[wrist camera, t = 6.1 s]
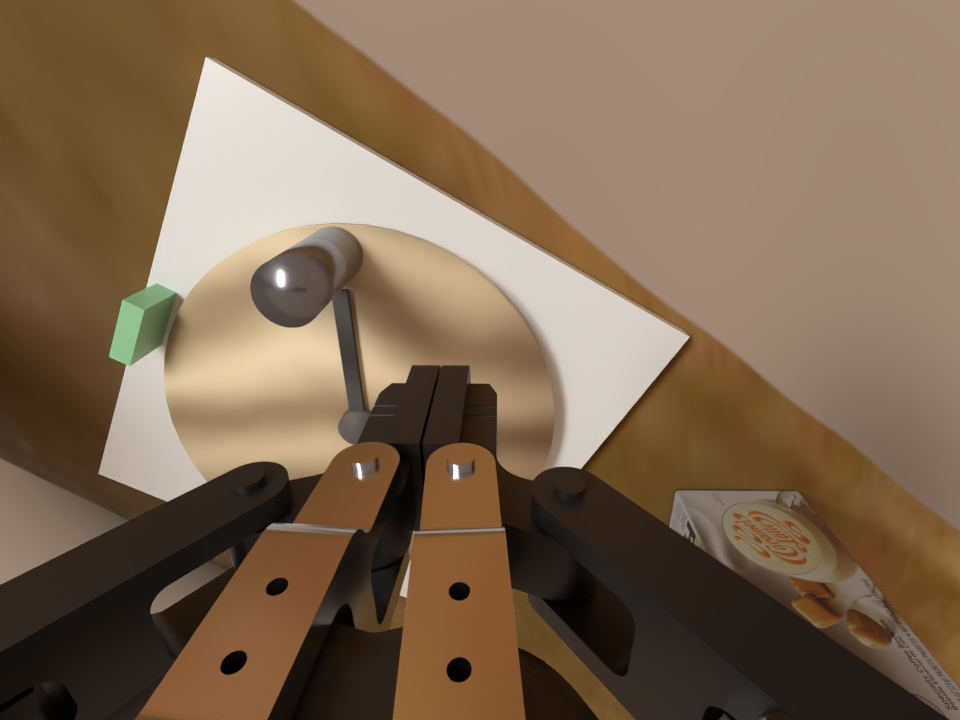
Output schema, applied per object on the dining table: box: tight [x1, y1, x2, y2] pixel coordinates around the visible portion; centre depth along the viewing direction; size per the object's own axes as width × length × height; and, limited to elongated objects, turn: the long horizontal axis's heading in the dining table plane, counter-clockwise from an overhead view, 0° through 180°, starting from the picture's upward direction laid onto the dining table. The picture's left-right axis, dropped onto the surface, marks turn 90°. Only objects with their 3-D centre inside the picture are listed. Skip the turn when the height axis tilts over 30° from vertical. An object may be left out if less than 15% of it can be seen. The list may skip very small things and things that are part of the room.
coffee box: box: [669, 490, 960, 720], centre depth 30 cm, size 9×6×16 cm
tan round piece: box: [164, 223, 554, 560], centre depth 29 cm, size 25×25×8 cm
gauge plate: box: [98, 57, 689, 598], centre depth 32 cm, size 30×30×4 cm
